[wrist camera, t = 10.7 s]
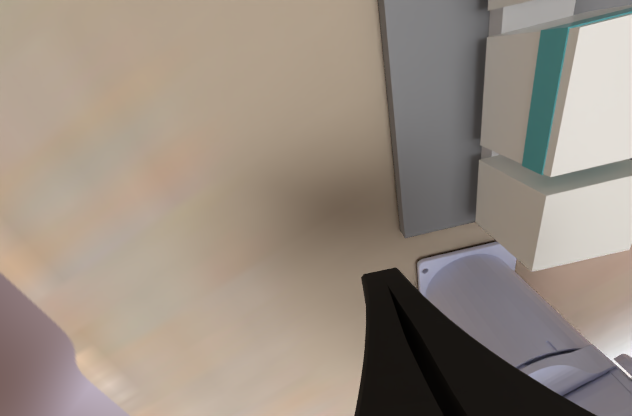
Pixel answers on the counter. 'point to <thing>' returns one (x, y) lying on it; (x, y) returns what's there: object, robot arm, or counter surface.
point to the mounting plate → (465, 135)
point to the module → (561, 92)
